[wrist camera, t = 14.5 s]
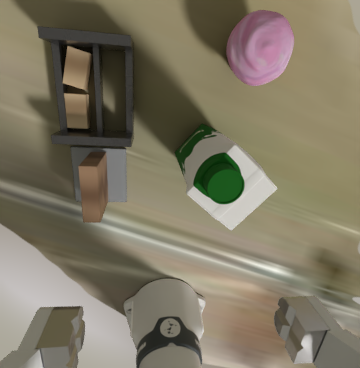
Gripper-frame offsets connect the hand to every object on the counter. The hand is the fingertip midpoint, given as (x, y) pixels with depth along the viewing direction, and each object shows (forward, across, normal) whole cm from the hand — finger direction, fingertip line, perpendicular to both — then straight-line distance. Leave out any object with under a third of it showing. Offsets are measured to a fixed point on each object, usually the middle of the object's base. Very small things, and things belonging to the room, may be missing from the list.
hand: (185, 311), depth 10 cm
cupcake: (+35, -13, -14) cm, 40 cm away
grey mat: (+35, +10, +7) cm, 37 cm away
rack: (+35, +10, -7) cm, 37 cm away
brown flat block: (+34, +10, +7) cm, 37 cm away
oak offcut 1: (+35, +12, -10) cm, 39 cm away
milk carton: (+35, -8, +2) cm, 36 cm away
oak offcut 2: (+35, +13, -4) cm, 38 cm away
